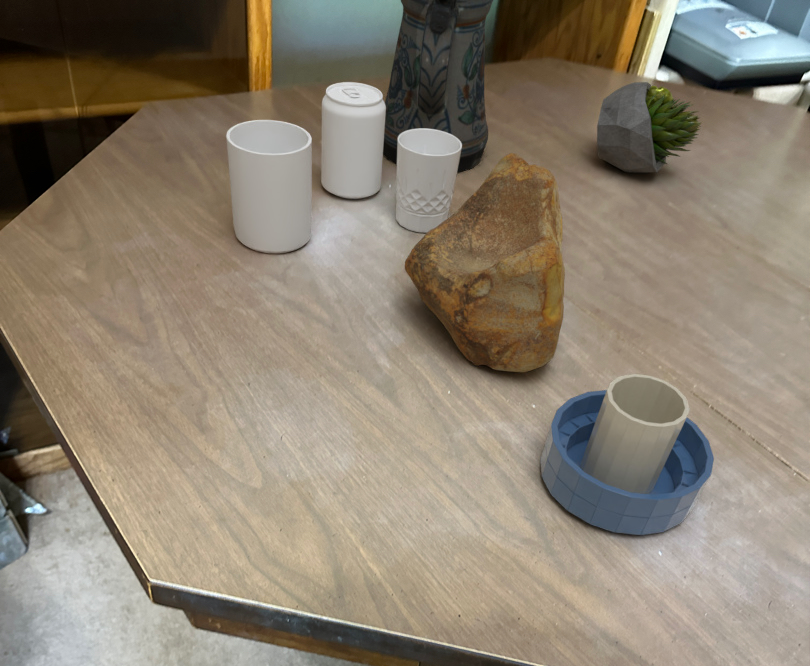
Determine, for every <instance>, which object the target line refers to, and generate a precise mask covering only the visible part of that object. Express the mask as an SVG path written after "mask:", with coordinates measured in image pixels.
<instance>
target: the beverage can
mask: <svg viewBox="0 0 810 666" xmlns="http://www.w3.org/2000/svg"><path fill="white" fill-rule="evenodd" d="M383 98H384V95H383V92H382V91H381V90H380V89H378V88H377V87H375V86H373V85H370V84H366V83H361V82H354V81H343V82H336V83H333V84H330V85H328V86H327V87H326V89H325V94H324V96H323V97H322V100H321V143H320V144H321V146H320V147H321V148H320V149H321V150H320V151H321V156H320V159H321V164H320V167H321V169H320V182H321V183H320V184H321V185H322V188H324V189H325V190H326V191H327V192H328V193H330V194H333V195H335V196H336V197H339V198H343V199H349V200H360V199H364V198H368V197H372V196H373V195H375V194H376V193H378V192H379V191H380V190H381V186H382V175H383V159H384V158H383V157H384V155H383V144H384V129H385V114H386V106H385V100H384V99H383Z"/></svg>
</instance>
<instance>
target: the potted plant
mask: <svg viewBox="0 0 810 666" xmlns="http://www.w3.org/2000/svg"><path fill="white" fill-rule="evenodd" d="M680 100H681V98H678V99H675V98H674V97H673V94H672V92H671V91H670V89H668V88H666V87H664V86H658V87H657V85H651V84H650V83H649V81H635V82H632V83H628V84H625V85H623V86H621V87H620V88H618V89H616V90H614V91H612V93H610V94H609V95H607V96H606V97H605V98H603V99H602V103H601V106H600V111H599V116H598V120H597V125H596V147H597V155H598V158H599V159H601V160H603V161H604V162H607V163H608V164H610V165H612V166H614V167H616V168H617V169H619V170H621V171H623V172H624V173H658V172H659V171H660V170H661V169H662V168H663V167H664V166H665V165H668V163H667V158H669V157H670V156H673V157H679V158H680V157H682V156H681V155H679V154H677V153H674V152H671V151H677V152H690V151H692V149H685V147H687V146H688V145H692V144H693V142H694V139H697V138H698V137H697V136H699V133H698V131H700V130H701V127H702V126H701V125H702V122H700V121H699V120H698V119H700V117H699V115H695V114H696V113H699V112H700V111H699V110H697V111H696V110H686V109H688V108H689V107H692V106H693V104H691V101H688V102H686V100H684V101H681V102H679V101H680ZM682 147H683V148H682Z"/></svg>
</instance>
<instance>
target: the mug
mask: <svg viewBox="0 0 810 666" xmlns="http://www.w3.org/2000/svg"><path fill="white" fill-rule="evenodd" d="M225 137H226V149H227V151H226V152H227V162H228V173H229V174H228V175H229V185H230V187H229V189H230V199H231V211H232V222H233V230H234V234H235V237H236V239H237V240H238V241H239V242H240V243H242V245H244V246H245V247H247V248H249V249H250V250H253V251H256V252H260V253H265V254H287V253H291V252H295V251H296V250H299V249H300V248H302V247H303V246H305V245H306V244H307V243H308V242H309V241H310V240H311V237H312V228H313V223H312V222H313V214H312V213H313V207H312V206H313V197H312V196H313V192H312V191H313V186H312V185H313V171H312V170H313V163H312V162H313V161H312V160H313V155H312V154H313V152H312V151H313V150H312V148H313V146H312V145H313V143H312V142H313V141H312V139H313V138H312V136H311V134H310V132H309V131H307V130H306V128H303V127H301V126H299V125H297V124H294V123H290V122H286V121H282V120H274V119H257V120H256V119H253V120H248V121H243V122H239V123H237V124H235V125H232V126H231V127H230V128H229V129H228V130H227V131H226V135H225Z"/></svg>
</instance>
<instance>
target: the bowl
mask: <svg viewBox="0 0 810 666" xmlns="http://www.w3.org/2000/svg"><path fill="white" fill-rule="evenodd" d="M606 391H607V389H603V390H602V389H601V390H593V391H587V392H583V393H581V394H579V395H576V396H573V397H571V398H569V399H567V400H566V401H565V402H564V403H563V404H562V405H561V406H560V407H558V408H557V410H556V411H555V414H554V416H553V418H552V421H551V423H550V427H549V429H548V432H547V437H546V440H545V443H544V446H543V449H542V453H541V456H540V460H539V461H540V471H541V472H540V473H541V479H542V481H543V482H544V485H545V486H546V488H547V490H548V492H549V494H550V495H551V496H552V497H553V498H554V499H555V500H556V502H558V503H559V505H561V506H562V507H563V509H565V510H566V511H567V512H569V513H570V514H572V515H573V516H575V517H577V518H579V519H580V520H582V521H583V522H585V523H587V524H589V525H591V526H593V527H597V528H600V529H603V530H606V531H609V532H612V533H617V534H627V535H637V536H645V535H652V534H657V533H664V532H666V531H669V530H670V529H673V528H674V527H676V526H678V525H680V524H682V523H683V522H684V521H685V520H686V518H688V516H689V515H690V514H691V512H692V511H693V510H694V507H695V506H696V504H697V502H698V500H699V498H700V497H701V495H702V493H703V492H704V491H703V490H704V489H705V487H706V486H707V484H708V482H709V480H710V478H711V476H712V473H713V467H714V462H715V461H714V460H715V456H714V453H713V451H712V446H711V444H710V440H709V439H708V438H707V437H706V435H705V433H703V431H702V430H701V429H700V427H699V426H698V425H697V424H696V423H695V422H694V421H692V420H691V419H690V418H689V417H688V416H687V418H686V420H685V422H684V424H683V426H682V429H681V431H680V433H679V435H678V437H677V439H676V441H675V443H674V446H673V448H672V450H671V452H670V454H669V456H668V458H667V460H666V463H665V465H664V467H663V469H662V471H661V473H660V475H659V477H658V480H657V482H656V484H655V486H654V488H653V490H652V491H651V493H650V494H641V493H632V492H628V491H625V490H622V489H619V488H616V487H613V486H610V485H607V484H604V483H603V482H601V481H599V480H597V479H596V478H594V477H592V476H590V475H589V474H587V473H585V472H584V471H583V470H582V469H581V468H580V465H581V461H582V458H583V456H584V453H585V450H586V447H587V444H588V442H589V439H590V436H591V433H592V430H593V428H594V425H595V422H596V419H597V416H598V414H599V411H600V408H601V405H602V402H603V400H604V397H605V394H606Z"/></svg>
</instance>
